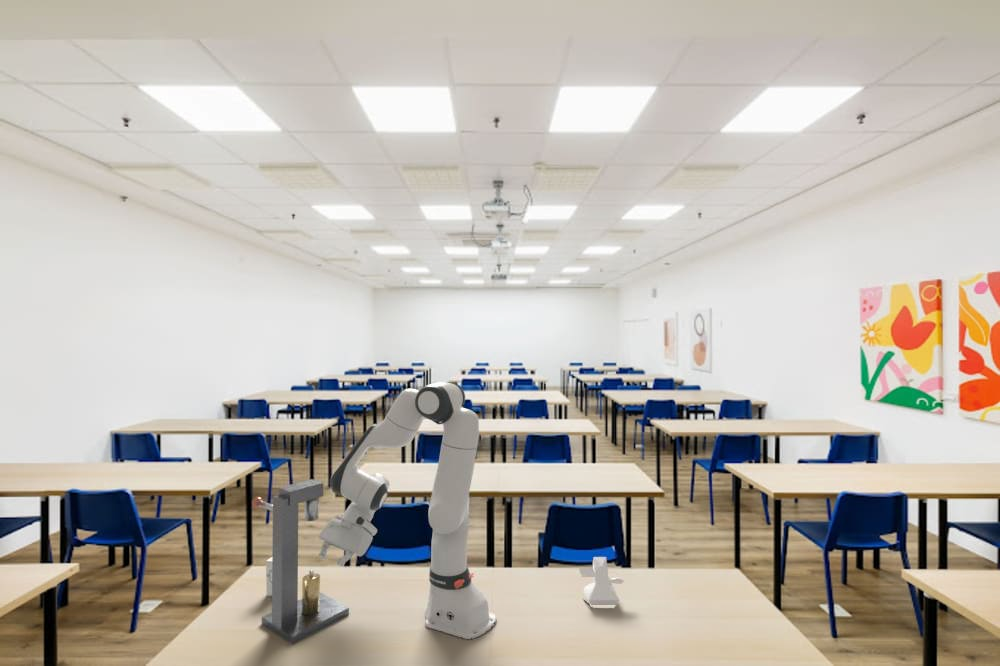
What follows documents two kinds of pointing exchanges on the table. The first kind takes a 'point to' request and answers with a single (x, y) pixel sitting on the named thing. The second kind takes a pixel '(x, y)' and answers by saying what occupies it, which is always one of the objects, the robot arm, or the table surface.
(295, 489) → the bench press
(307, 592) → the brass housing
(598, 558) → the white irregular piece
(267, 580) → the ink cartridge box
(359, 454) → the robot arm
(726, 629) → the table surface
